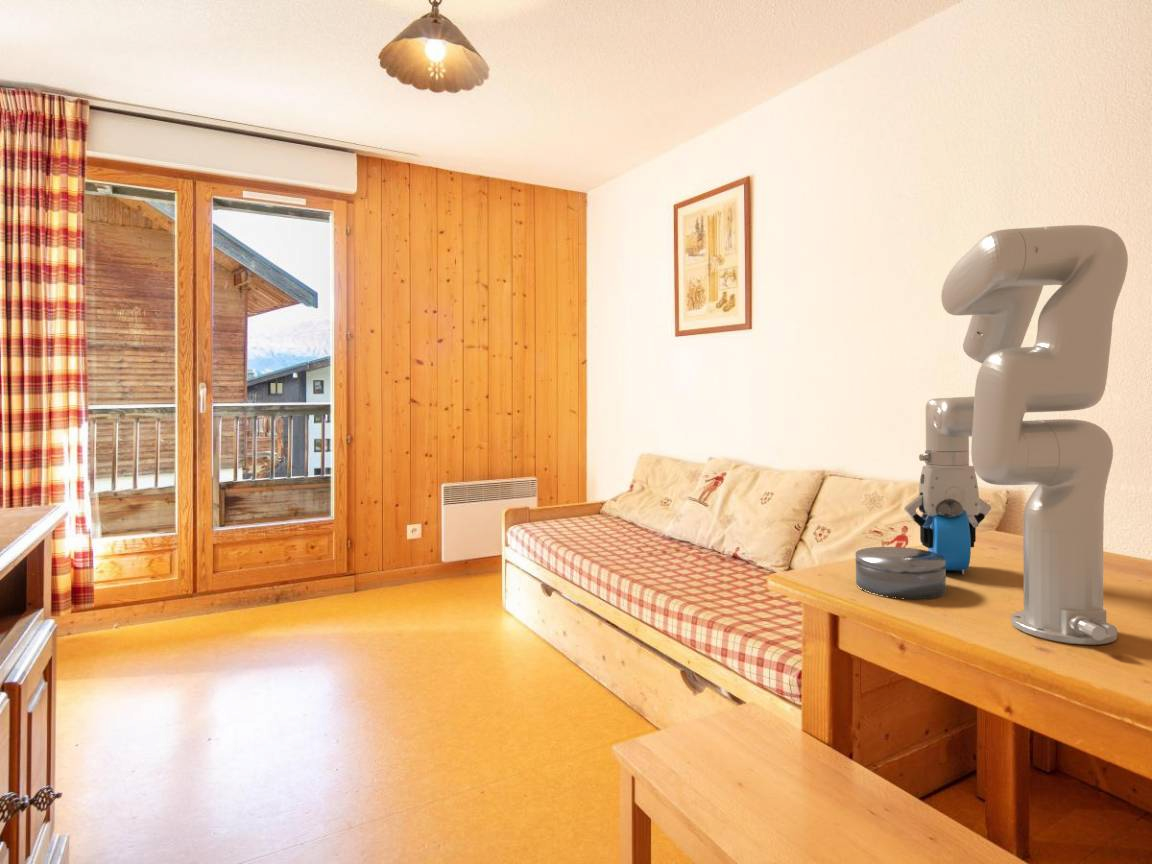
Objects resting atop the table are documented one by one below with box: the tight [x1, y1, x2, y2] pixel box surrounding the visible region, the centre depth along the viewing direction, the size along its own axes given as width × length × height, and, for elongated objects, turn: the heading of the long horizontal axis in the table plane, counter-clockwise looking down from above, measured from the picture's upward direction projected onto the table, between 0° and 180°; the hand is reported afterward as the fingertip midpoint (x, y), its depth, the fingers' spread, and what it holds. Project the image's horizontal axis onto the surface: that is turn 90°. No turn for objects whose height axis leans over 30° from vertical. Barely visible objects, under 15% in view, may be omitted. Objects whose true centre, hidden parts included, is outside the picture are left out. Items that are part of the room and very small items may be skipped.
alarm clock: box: [927, 499, 972, 576], centre depth 131 cm, size 13×6×15 cm, turn 158°
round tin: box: [855, 546, 947, 601], centre depth 120 cm, size 15×15×6 cm
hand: (947, 545), depth 130 cm, fingers closed on alarm clock, 7 cm apart
